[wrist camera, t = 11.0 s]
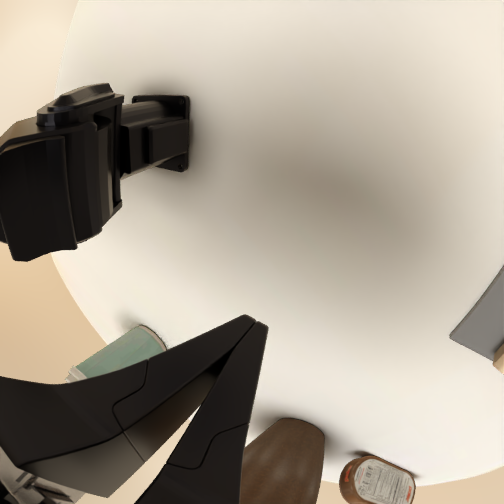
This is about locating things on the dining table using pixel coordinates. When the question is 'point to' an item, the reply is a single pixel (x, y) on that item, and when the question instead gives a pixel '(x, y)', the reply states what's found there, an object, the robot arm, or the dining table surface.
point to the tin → (376, 482)
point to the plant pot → (283, 465)
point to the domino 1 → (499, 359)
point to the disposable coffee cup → (119, 354)
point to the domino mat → (484, 322)
